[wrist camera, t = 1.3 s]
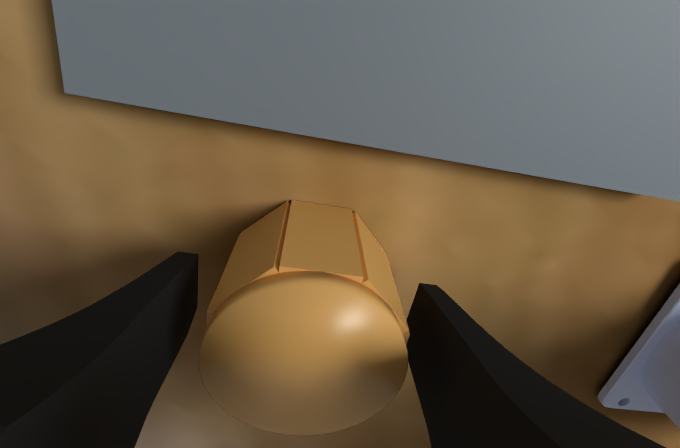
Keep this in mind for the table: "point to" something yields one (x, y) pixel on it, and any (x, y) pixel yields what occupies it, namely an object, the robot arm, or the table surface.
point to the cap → (305, 324)
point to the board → (407, 76)
